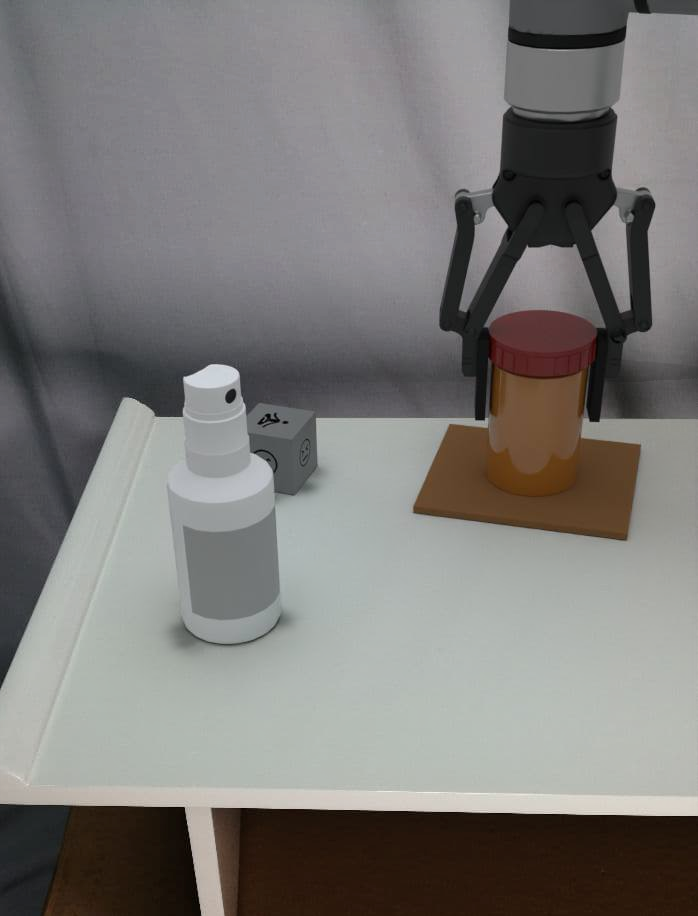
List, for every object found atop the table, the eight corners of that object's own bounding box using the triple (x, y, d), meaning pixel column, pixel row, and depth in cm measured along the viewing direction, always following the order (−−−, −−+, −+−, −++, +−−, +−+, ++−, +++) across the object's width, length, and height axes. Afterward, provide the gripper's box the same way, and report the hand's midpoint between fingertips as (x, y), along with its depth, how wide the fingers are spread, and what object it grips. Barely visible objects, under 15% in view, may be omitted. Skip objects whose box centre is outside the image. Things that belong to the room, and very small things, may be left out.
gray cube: (262, 456, 99) (259, 402, 96) (317, 465, 97) (315, 411, 95) (237, 484, 95) (233, 430, 93) (294, 495, 94) (291, 439, 91)
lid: (482, 333, 92) (483, 310, 91) (586, 331, 91) (588, 308, 90) (491, 378, 85) (492, 353, 84) (604, 376, 84) (606, 351, 83)
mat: (640, 450, 97) (641, 444, 97) (626, 540, 86) (627, 533, 86) (449, 429, 102) (449, 423, 101) (413, 512, 91) (413, 506, 90)
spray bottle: (230, 659, 76) (208, 412, 67) (161, 618, 81) (131, 379, 71) (302, 612, 80) (291, 372, 71) (233, 575, 85) (214, 343, 75)
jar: (581, 457, 96) (596, 323, 89) (571, 501, 90) (586, 362, 83) (493, 447, 98) (501, 315, 91) (477, 490, 92) (485, 353, 85)
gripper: (710, 91, 80) (666, 393, 93) (405, 96, 83) (402, 390, 95) (733, 118, 74) (682, 438, 86) (402, 123, 76) (399, 434, 89)
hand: (535, 412), depth 91 cm, fingers closed on lid, 8 cm apart
